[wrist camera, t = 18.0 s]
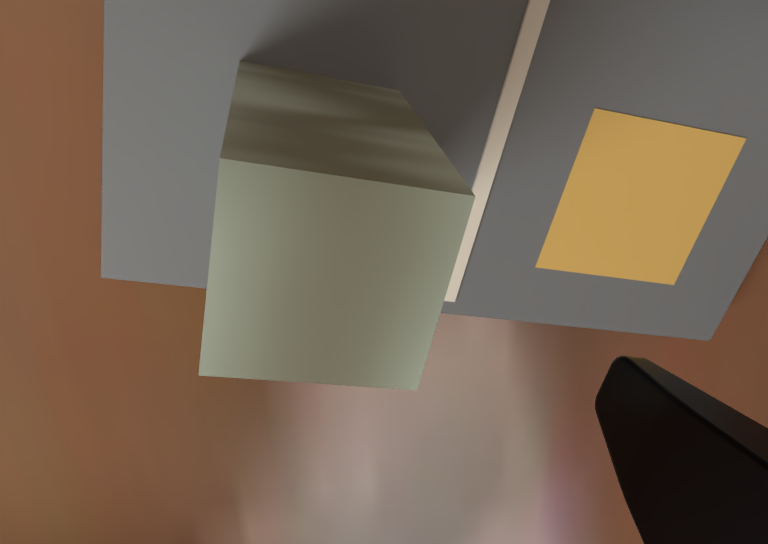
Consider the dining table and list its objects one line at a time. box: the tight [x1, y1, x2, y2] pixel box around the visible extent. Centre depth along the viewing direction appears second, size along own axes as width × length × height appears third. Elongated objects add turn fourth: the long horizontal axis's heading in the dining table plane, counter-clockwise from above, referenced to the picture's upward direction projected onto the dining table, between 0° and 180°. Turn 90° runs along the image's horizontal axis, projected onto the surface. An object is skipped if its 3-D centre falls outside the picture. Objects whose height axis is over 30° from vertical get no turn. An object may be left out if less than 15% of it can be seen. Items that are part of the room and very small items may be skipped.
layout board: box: [101, 0, 768, 341], centre depth 16 cm, size 20×17×1 cm
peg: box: [199, 61, 475, 390], centre depth 14 cm, size 4×4×7 cm
